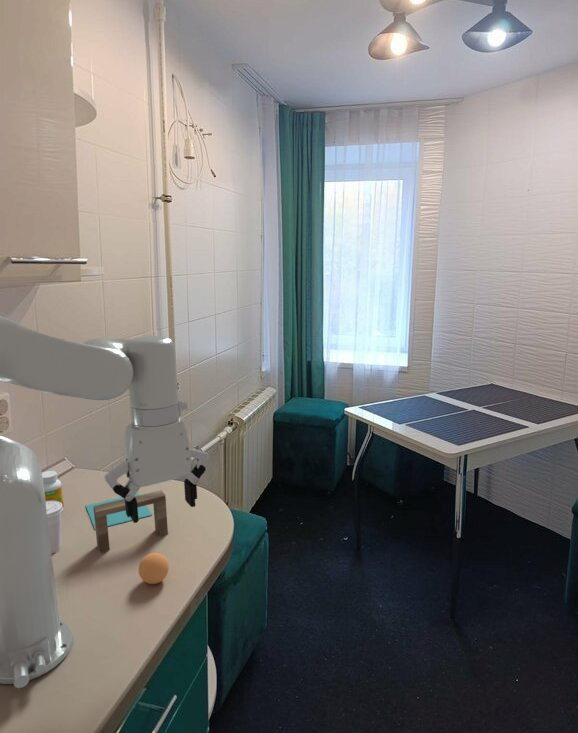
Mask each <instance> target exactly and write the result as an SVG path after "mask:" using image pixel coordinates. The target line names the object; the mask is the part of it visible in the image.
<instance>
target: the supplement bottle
mask: <svg viewBox="0 0 578 733" xmlns="http://www.w3.org/2000/svg"><path fill="white" fill-rule="evenodd" d="M42 478H43V485H44V492H45V501H58V502H61V503H62V507H63V510H62V512H63V511H64V510H65V504H64V498H63V497H64V496H63V488H62V487H63V486H62V482H61V480H59V479H58V473H57V472H56V471H55V470H47V471H42Z"/></svg>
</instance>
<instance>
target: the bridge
mask: <svg viewBox="0 0 578 733" xmlns="http://www.w3.org/2000/svg"><path fill="white" fill-rule="evenodd" d="M135 498H136V500H137V507H141V506H146V505H147V506H150V505H153V517H154V529H155V531H156V533H157V535H158V537H162V536H164V535H167V534H169V531H168V530H169V529H168V516H167V514H168V513H167V499H166V494H165V493H164V492H163V490H161V489H160V490H158V491H157V490H156V491H153V492H149V493H148V492H147V493H144V494H140V495H139V496H135ZM93 508H94V518H95V528H96V530H95V536H96V546H97V549H98V551H99V553H103V552H106V551H109V550H110V548H111V547H110V539H109V530H108V528H109V527H108V526H107V515H109V514H113V513H117V512H121V511H125V510H126V508H125V499H122V500H117V501H113V502H109V503H105V504H100V505H96V506H93ZM95 528H94V529H95Z"/></svg>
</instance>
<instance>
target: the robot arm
mask: <svg viewBox="0 0 578 733" xmlns="http://www.w3.org/2000/svg"><path fill="white" fill-rule="evenodd" d="M176 357H177V356H176V347H175V343H174V341H173V340H172V339H171V338H170V337H166V336H161V335H160V336H159V335H148V336H147V335H146V336H140V337H135V338H133V339H131V338H130V339H129V338H128V339H127V338H126V339H124V338H123V339H122V338H121V339H119V338H91V339H88V340H86V341H83V342H82V343H81V342H79V341H78V342H77V341H73V340H66V339H62V338H59V337H54V336H51V335H47V334H45V333H41V332H39V331H35V330H33V329H30V328H28V327H26V326H24V325H22V324H20V323H18V322H16V321H15V320H14V319H13V320H12V319H10V318H7V317H4V316H1V315H0V382H3V383H7V384H11V385H16V386H20V387H24V388H27V389H30V390H34V391H38V392H42V393H46V394H53V395H58V396H64V397H71V398H78V399H84V400H90V401H91V400H93V401H109V400H113V399H116V398H119V397H120V396H122V395H123V394H124V393H126V392H127V390H128V394H129V395H128V396H129V406H130V416H131V418H130V419H131V421H130V422H127V424H126V427H125V434H124V435H125V436H124V461H123V462H122V463H120V464H118V465H117V466H116V467H114V468H113V469H111V470H110V471H108V473H106V474H105V475H104V476H103V477H104V478H103V479H104V480H105V482H106V483H107V484H108V485H109V487H110V488H111V489H112V491H113V492H114V493H115V494H116V495H118V496H119V497H123V498H124V499H125V508H126V515H127V517H131V519H132V522H133V524H136V523H138V522H139V520H140V519H138V507H137V500H136V498H135V497H134V496H135V495H136V494H138V491H140V489H141V488H142V487H149V486H152V485H157V484H161V483H165V482H170V481H173V480H178V479H180V478H181V479H182V478H185V479H184V481H183V487H184V488H183V489H184V500H185V502H186V503H187V504H188V505H189V507H190V508H193V507H194V508H195V507H196V500H197V499H198V486H197V485H198V484H199V483H200V478H201V477H202V476H203V475H204V473H205V471H206V467H207V466H208V463H209V460H210V459H211V456H210V454H209V453H208V452H206V451H202V450H199V449H196V448H191V444H190V440H189V435H188V431H187V427H186V422H185V420H184V417H182V415H181V414H182V412H184V411H187V410H188V403H187V401H183V402H182V401H180V400H179V389H178V374H177V373H178V371H177V358H176ZM192 458H193V459H196V460H198V462H197V463H196V464H195V466H194V467H193V459H192ZM42 473H43V471H42V467H41V462H40V460H39V458H38V456H37V455H36V454H35V452H34V451H33V450H32V449H30V448H29V447H28V446H26V445H24V444H22V443H21V442H18V441H16V440H14V439H11V438H8V437H6V436H3V435H0V684H1V685H13V686H14V687H15V688H17V689H22V688H25V687H26V686H27V685H28V684H29V682H30V681H32V680H34V679H37V678H39V677H41V676H43V675H45V674H47V673H48V672H50V671H51V670H53V669H55V667H57V666H58V665H59V664H60V663H61V662H62V661H63V660H64V659H65V658H66V656H68V654H69V652H70V650H71V648H72V646H73V632H72V629H71V627H70V626H69V625H68V624H67V623H66V622H63V620H60V612H59V605H58V598H57V589H56V588H57V587H56V582H55V581H56V580H55V574H54V573H55V572H54V565H53V557H52V554H51V548H50V540H49V532H48V524H47V514H46V501H45V492H44V485H43V478H42ZM124 475H126V478H127V479H128V480H127V481H126V483H125V484H124V485H122V484H120V483H119V482H118V479H120V478H121V477H122V476H124Z"/></svg>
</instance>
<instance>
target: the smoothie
mask: <svg viewBox="0 0 578 733" xmlns="http://www.w3.org/2000/svg"><path fill="white" fill-rule="evenodd" d="M62 510H63V507H62V503H61V502H58V501H46V514H47V524H48V532H49V540H50V548H51V555H52V554H55V553H57V552H58V551H60V550H61V543H62V542H61V540H62V539H61V538H62V537H61V536H62V512H63V511H64V510H63V511H62Z"/></svg>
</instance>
